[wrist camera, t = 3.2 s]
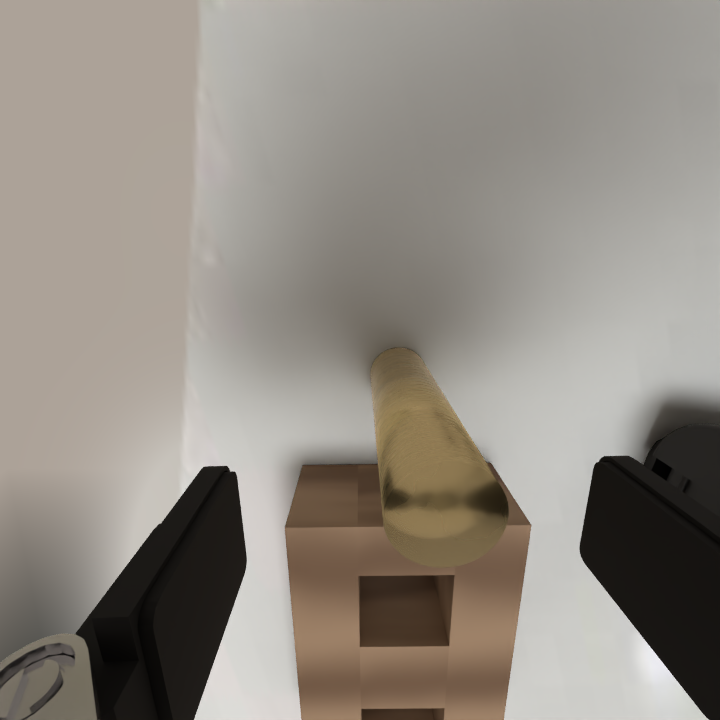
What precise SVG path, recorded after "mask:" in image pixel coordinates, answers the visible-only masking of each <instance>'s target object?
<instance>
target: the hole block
mask: <svg viewBox="0 0 720 720" xmlns="http://www.w3.org/2000/svg"><path fill="white" fill-rule="evenodd" d="M487 465H488V466H489V468H490V469H491V471H492V473H493V474H494V476H495V477H496V479H497V481H498V482H499V484H500V485H501V487H502V489H503V490H504V493H505V495H506V497H507V501H508V507H509V517H508V522H507V526H506V529H505V531H504V533H503V535H502V537H501V538H500V540H499V541H498V542H497V543H496V545H495V546H494V547H493V548H492V549H491V550H489V551H488V552H487V553H486V554H484V555H483V556H481V557H480V558H478V559H476V560H474V561H472V562H469V563H467V564H464V565H460V566H455V567H447V568H436V567H429V566H424V565H420V564H418V563H415V562H413V561H411V560H409V559H407V558H405V557H404V556H403V555H401V554H400V553H399V552H398V551H397V550H396V549H395V548H394V547H393V546H392V544H391V543H390V541H389V540H388V538H387V535H386V533H385V530H384V525H383V515H382V503H381V492H380V480H379V468H378V464H358V465H303V466H302V469H301V473H300V476H299V480H298V483H297V487H296V490H295V494H294V497H293V501H292V504H291V508H290V511H289V515H288V518H287V522H286V525H285V535H286V547H287V558H288V570H289V581H290V593H291V604H292V616H293V627H294V639H295V650H296V662H297V673H298V685H299V696H300V708H301V719H302V720H504V713H505V706H506V699H507V692H508V685H509V678H510V671H511V664H512V657H513V650H514V643H515V636H516V629H517V622H518V615H519V608H520V601H521V594H522V587H523V580H524V573H525V566H526V559H527V552H528V545H529V538H530V531H531V524H530V522H529V521H528V519H527V518H526V516H525V515H524V513H523V512H522V510H521V509H520V507H519V505H518V504H517V502H516V501H515V499H514V498H513V496H512V495H511V493H510V492H509V490H508V488H507V487H506V485H505V484H504V482H503V481H502V479H501V478H500V476H499V475H498V473H497V471H496V470H495V468H494V467H493V465H492V464H491V463H487Z"/></svg>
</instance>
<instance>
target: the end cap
mask: <svg viewBox="0 0 720 720" xmlns="http://www.w3.org/2000/svg"><path fill="white" fill-rule="evenodd" d="M644 466H645V467H647V468H648V469H650V470H651V471H653V472H654V473H655V474H657V475H658V476H660V477H661V478H663V479H664V480H666V481H667V482H669V483H670V484H672V485H673V486H675V487H676V488H678V489H679V490H681V491H682V492H683V493H685V494H686V495H688V496H689V497H691V498H692V499H694V500H695V501H697V502H698V503H700V504H701V505H703V506H704V507H706V508H707V509H708V510H710V511H711V512H713V513H714V514H716V515H717V516H719V517H720V425H714V424H693V425H689V426H685V427H682V428H680V429H678V430H675V431H673V432H672V433H670V434H669V435H668V436H666V437H665V438H663V439H661V440H659V441H657V442H656V444H655V445H654V446H653V447H652V449H651V450H650V452H649V454H648V456H647V459H646V461H645V463H644Z"/></svg>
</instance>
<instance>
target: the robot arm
mask: <svg viewBox="0 0 720 720" xmlns="http://www.w3.org/2000/svg"><path fill="white" fill-rule="evenodd" d="M580 554H581V557H582V559H583V561H584V563H585V564H586V566H587V567H588V568H589V569H590V571H591V572H592V573H593V574H594V576H595V577H596V578H597V580H598V581H599V582H600V583H601V585H602V586H603V587H604V588H605V590H606V591H607V592H608V594H609V595H610V596H611V597H612V599H613V600H614V601H615V602H616V604H617V605H618V606H619V607H620V609H621V610H622V611H623V613H624V614H625V615H626V616H627V618H628V619H629V620H630V621H631V623H632V624H633V625H634V627H635V628H636V629H637V630H638V632H639V633H640V634H641V635H642V637H643V638H644V639H645V641H646V642H647V643H648V644H649V646H650V647H651V648H652V649H653V651H654V652H655V653H656V654H657V656H658V657H659V658H660V660H661V661H662V662H663V663H664V665H665V666H666V667H667V668H668V670H669V671H670V672H671V674H672V675H673V676H674V677H675V679H676V680H677V681H678V682H679V684H680V685H681V686H682V687H683V689H684V690H685V691H686V693H687V694H688V695H689V696H690V698H691V699H692V700H693V701H694V703H695V704H696V705H697V707H698V708H699V709H700V710H701V712H702V713H703V714H704V715H705V716H706V717H707V718H708V719H709V720H720V517H719V516H717V515H716V514H714V513H713V512H711V511H710V510H708V509H707V508H706V507H704V506H703V505H701V504H700V503H698V502H697V501H695V500H694V499H692V498H691V497H689V496H688V495H686V494H685V493H683V492H682V491H681V490H679V489H678V488H676V487H675V486H673V485H672V484H670V483H669V482H667V481H666V480H664V479H663V478H661V477H660V476H658V475H657V474H655V473H654V472H653V471H651V470H650V469H648V468H647V467H645V466H644V465H642V464H641V463H639V462H638V461H636V460H635V459H633V458H632V457H629V456H604V457H602V458H601V459H600V461H599V462H598V463H596V464H595V465H594V469H593V474H592V480H591V486H590V491H589V497H588V502H587V508H586V514H585V519H584V525H583V530H582V536H581V542H580ZM246 562H247V557H246V548H245V540H244V532H243V523H242V515H241V506H240V498H239V490H238V481H237V475H236V472H230V470H229V468H228V467H227V466H208V467H203V468H202V469H201V470H200V472H199V473H198V475H197V476H196V477H195V479H194V480H193V481H192V483H191V484H190V485H189V487H188V488H187V489H186V491H185V492H184V493H183V495H182V496H181V497H180V499H179V500H178V502H177V503H176V504H175V506H174V507H173V508H172V510H171V511H170V512H169V514H168V515H167V516H166V518H165V519H164V521H163V522H162V523H161V524H159V525H158V526H157V527H156V528H155V529H154V530H153V531H152V533H151V534H150V535H149V537H148V538H147V539H146V541H145V542H144V543H143V545H142V546H141V547H140V549H139V550H138V551H137V553H136V554H135V555H134V557H133V558H132V559H131V561H130V562H129V563H128V564H127V566H126V567H125V569H124V570H123V571H122V572H121V574H120V575H119V576H118V578H117V579H116V580H115V582H114V583H113V584H112V586H111V587H110V588H109V590H108V591H107V592H106V594H105V595H104V597H103V598H102V599H101V600H100V602H99V603H98V604H97V606H96V607H95V609H94V610H93V611H92V612H91V614H90V615H89V616H88V618H87V619H86V620H85V622H84V623H83V624H82V626H81V627H80V629H79V630H78V631H77V632H76V634H63V633H62V634H57V635H53V636H48V637H45V638H43V639H40V640H38V641H35V642H33V643H31V644H29V645H27V646H25V647H23V648H22V649H20V650H18V651H17V652H15V653H13V654H12V655H10V656H8V657H7V658H6V659H4V660H3V661H2V662H1V663H0V720H194V718H195V715H196V712H197V709H198V706H199V703H200V700H201V697H202V695H203V692H204V689H205V686H206V683H207V680H208V677H209V674H210V672H211V669H212V666H213V663H214V660H215V657H216V654H217V651H218V649H219V646H220V643H221V640H222V637H223V634H224V631H225V628H226V626H227V623H228V620H229V617H230V614H231V611H232V608H233V606H234V603H235V600H236V597H237V594H238V591H239V588H240V585H241V583H242V580H243V577H244V574H245V570H246Z"/></svg>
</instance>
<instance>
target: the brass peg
mask: <svg viewBox="0 0 720 720" xmlns="http://www.w3.org/2000/svg"><path fill="white" fill-rule="evenodd" d="M370 375H371V387H372V399H373V410H374V422H375V434H376V445H377V457H378V468H379V480H380V492H381V503H382V515H383V525H384V530H385V533H386V535H387V538H388V540H389V541H390V543H391V544H392V546H393V547H394V548H395V549H396V550H397V551H398V552H399V553H400V554H401V555H403V556H404V557H405V558H407V559H409V560H411V561H413V562H415V563H418V564H420V565H424V566H429V567H436V568H447V567H455V566H460V565H464V564H467V563H469V562H472V561H474V560H476V559H478V558H480V557H481V556H483V555H484V554H486V553H487V552H488V551H489V550H491V549H492V548H493V547H494V546H495V545H496V543H497V542H498V541H499V540H500V538H501V537H502V535H503V533H504V531H505V529H506V526H507V522H508V517H509V507H508V501H507V497H506V495H505V493H504V490H503V489H502V487H501V485H500V484H499V482H498V481H497V479H496V477H495V476H494V474H493V473H492V471H491V469H490V468H489V466H488V465H487V463H486V461H485V460H484V458H483V457H482V455H481V453H480V452H479V450H478V449H477V447H476V445H475V444H474V442H473V441H472V439H471V437H470V436H469V434H468V433H467V431H466V429H465V428H464V426H463V425H462V423H461V421H460V420H459V418H458V417H457V415H456V413H455V412H454V410H453V409H452V407H451V405H450V404H449V402H448V401H447V399H446V397H445V396H444V394H443V393H442V391H441V389H440V388H439V386H438V385H437V383H436V381H435V380H434V378H433V377H432V375H431V373H430V372H429V370H428V369H427V367H426V365H425V364H424V362H423V361H422V359H421V358H420V357H419V356H418V355H417V354H416V353H415V352H413V351H411V350H409V349H406V348H392V349H389V350H386V351H384V352H383V353H381V354H380V355H379V356H378V357H377V358H376V359H375V361H374V363H373V365H372V368H371V374H370Z"/></svg>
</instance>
